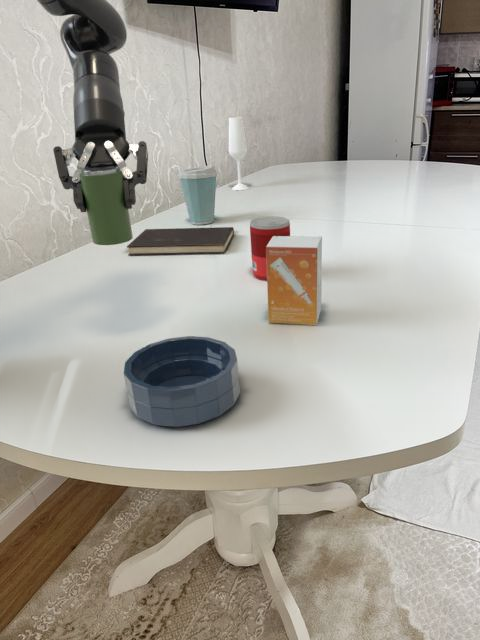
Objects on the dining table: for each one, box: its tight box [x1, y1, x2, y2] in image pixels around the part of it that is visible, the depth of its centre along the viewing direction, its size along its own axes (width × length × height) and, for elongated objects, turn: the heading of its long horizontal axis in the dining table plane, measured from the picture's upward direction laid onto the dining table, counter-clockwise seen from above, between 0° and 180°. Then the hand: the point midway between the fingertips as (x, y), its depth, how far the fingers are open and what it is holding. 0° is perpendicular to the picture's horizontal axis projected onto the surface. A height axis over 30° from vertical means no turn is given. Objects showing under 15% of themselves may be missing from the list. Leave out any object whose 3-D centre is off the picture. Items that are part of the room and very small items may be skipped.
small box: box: [266, 235, 323, 326], centre depth 84 cm, size 8×6×13 cm
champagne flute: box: [228, 116, 250, 191], centre depth 187 cm, size 7×7×24 cm
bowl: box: [123, 335, 241, 428], centre depth 65 cm, size 14×14×6 cm
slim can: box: [80, 166, 134, 246], centre depth 78 cm, size 6×6×10 cm
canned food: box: [249, 216, 291, 282], centre depth 104 cm, size 8×8×11 cm
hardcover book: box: [126, 226, 235, 257], centre depth 129 cm, size 16×23×2 cm
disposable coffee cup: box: [178, 165, 218, 226], centre depth 146 cm, size 11×11×15 cm
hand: (105, 207), depth 77 cm, fingers closed on slim can, 6 cm apart
